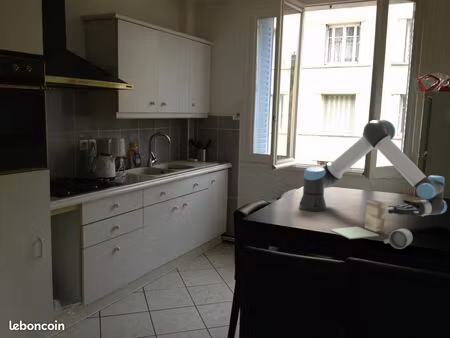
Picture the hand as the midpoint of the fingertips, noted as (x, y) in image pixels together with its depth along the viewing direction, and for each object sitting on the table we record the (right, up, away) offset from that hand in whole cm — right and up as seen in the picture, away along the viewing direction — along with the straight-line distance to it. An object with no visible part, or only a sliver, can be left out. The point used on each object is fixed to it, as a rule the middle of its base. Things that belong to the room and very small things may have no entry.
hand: (381, 211), depth 189 cm
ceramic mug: (-2, -13, -21) cm, 24 cm away
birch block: (-4, -9, 0) cm, 10 cm away
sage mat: (-14, -10, -4) cm, 18 cm away
